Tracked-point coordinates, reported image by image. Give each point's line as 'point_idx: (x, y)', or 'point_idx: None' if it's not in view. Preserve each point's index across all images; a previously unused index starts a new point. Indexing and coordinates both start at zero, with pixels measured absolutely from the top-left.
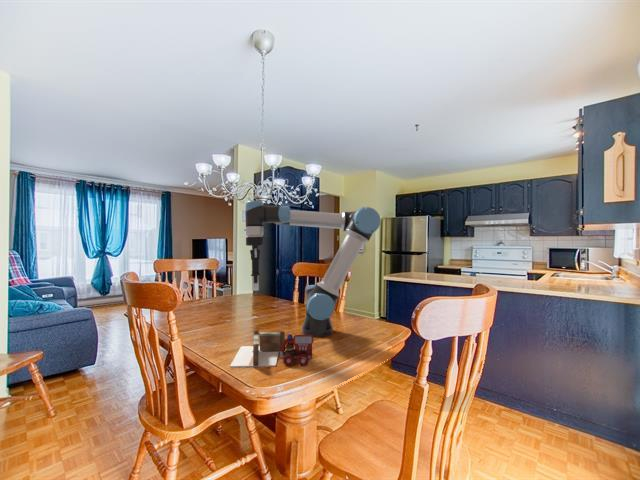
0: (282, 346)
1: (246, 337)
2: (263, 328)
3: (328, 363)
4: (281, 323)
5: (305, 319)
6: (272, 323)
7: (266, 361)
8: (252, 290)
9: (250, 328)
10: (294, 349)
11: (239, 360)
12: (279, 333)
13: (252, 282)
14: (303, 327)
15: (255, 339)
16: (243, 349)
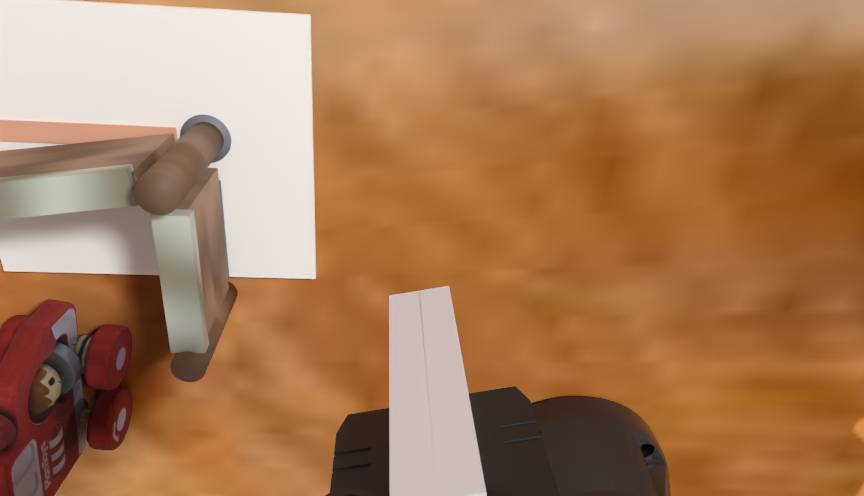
0: (9, 354)
1: (538, 24)
2: (741, 141)
3: (86, 488)
4: (825, 267)
5: (578, 478)
6: (854, 202)
7: (45, 218)
8: (392, 298)
9: (778, 28)
10: (102, 388)
11: (35, 45)
12: (172, 348)
13: (392, 391)
14: (555, 428)
15: (2, 197)
16: (242, 43)
